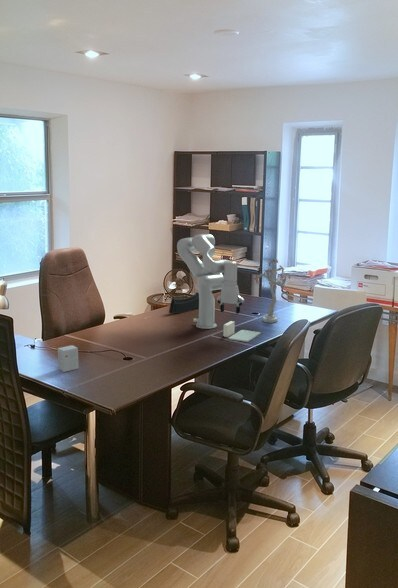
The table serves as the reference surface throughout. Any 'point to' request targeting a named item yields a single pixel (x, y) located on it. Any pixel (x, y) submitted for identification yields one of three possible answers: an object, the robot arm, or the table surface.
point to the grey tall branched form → (273, 282)
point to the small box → (68, 358)
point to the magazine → (184, 304)
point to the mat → (244, 335)
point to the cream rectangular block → (229, 329)
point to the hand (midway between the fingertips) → (230, 312)
